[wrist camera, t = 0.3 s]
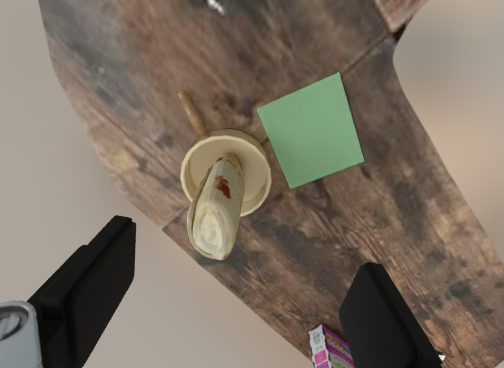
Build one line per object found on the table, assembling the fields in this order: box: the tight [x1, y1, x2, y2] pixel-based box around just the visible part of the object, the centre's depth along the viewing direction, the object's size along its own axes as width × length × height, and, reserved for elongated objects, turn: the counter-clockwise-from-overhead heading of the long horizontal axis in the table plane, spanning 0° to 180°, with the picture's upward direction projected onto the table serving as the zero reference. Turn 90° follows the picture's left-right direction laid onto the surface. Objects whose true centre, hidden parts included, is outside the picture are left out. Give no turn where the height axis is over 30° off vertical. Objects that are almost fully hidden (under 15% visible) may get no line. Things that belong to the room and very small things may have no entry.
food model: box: [187, 153, 244, 260], centre depth 40 cm, size 10×7×20 cm
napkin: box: [256, 72, 364, 189], centre depth 46 cm, size 16×14×1 cm
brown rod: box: [177, 90, 210, 140], centre depth 41 cm, size 8×2×2 cm, turn 24°
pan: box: [180, 129, 271, 217], centre depth 47 cm, size 15×15×4 cm
